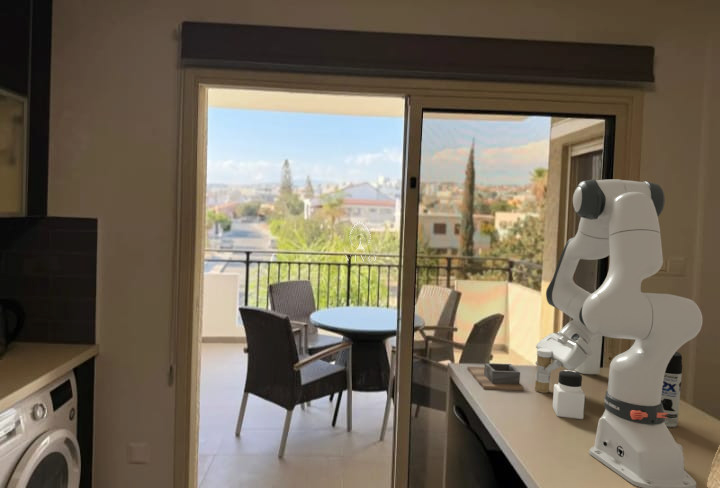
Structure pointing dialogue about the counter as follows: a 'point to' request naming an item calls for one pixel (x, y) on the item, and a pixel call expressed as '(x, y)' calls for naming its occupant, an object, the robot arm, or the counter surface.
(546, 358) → the sprinkles bottle
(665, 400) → the spray can
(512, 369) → the socket block
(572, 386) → the medicine bottle
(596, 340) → the paper towel roll
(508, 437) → the counter surface
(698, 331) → the robot arm
